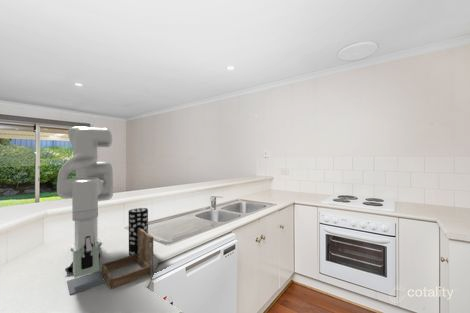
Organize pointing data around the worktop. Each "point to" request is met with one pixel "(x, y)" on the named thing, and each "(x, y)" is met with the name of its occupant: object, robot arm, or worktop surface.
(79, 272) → the module
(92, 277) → the mat
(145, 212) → the white-spotted black cylinder
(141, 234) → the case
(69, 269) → the dark blue pouch
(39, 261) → the worktop surface
